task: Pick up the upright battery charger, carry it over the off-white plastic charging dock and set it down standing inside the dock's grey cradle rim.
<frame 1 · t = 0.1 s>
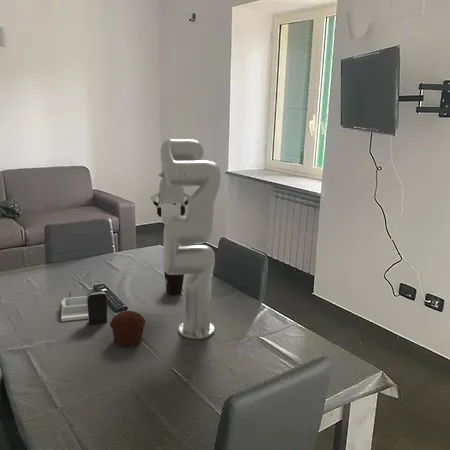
hand: (171, 215, 196), 31 cm above the table, tool pointing down, fingers open, 9 cm apart
dock: (79, 310, 175), on the table
battery charger: (97, 321, 167), on the table
coffee mug: (174, 291, 197), on the table
muffin: (128, 341, 154), on the table
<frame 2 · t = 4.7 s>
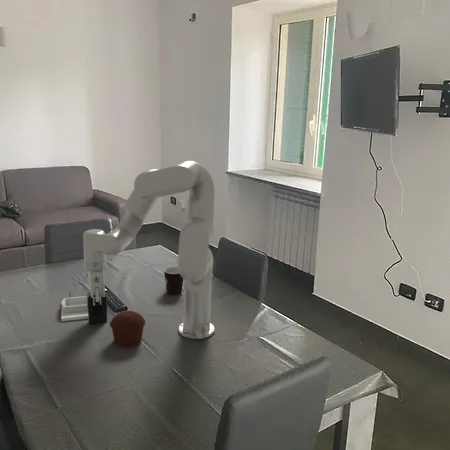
hand: (97, 311, 166), 4 cm above the table, tool pointing down, fingers closed on battery charger, 4 cm apart
battery charger: (97, 321, 167), on the table, touching gripper
everything else where it was.
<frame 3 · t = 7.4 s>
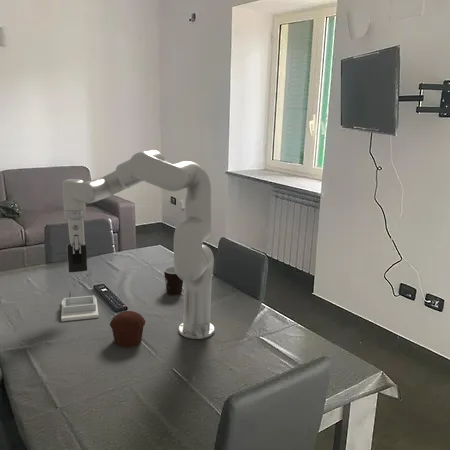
hand: (77, 260, 170), 20 cm above the table, tool pointing down, fingers closed on battery charger, 4 cm apart
battery charger: (77, 271, 171), point 16 cm above the table, touching gripper
everything else where it was.
when the fingers open (6 cm above the table, at t = 10.2 s): battery charger stays where it is, resting on dock.
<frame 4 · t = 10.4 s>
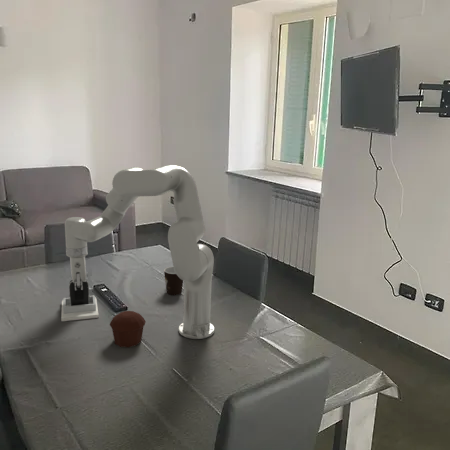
hand: (79, 295, 174), 6 cm above the table, tool pointing down, fingers open, 6 cm apart
battery charger: (80, 307, 175), point 1 cm above the table, touching dock
everything else where it was.
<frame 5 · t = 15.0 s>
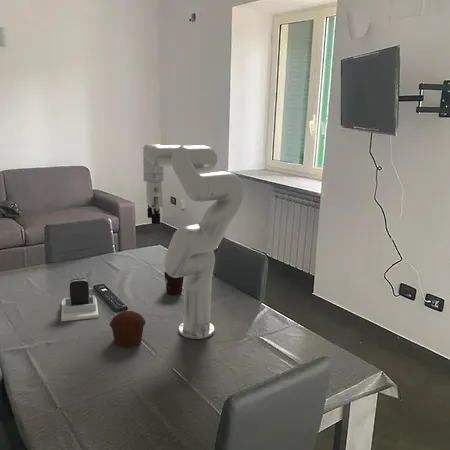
hand: (153, 220, 179), 33 cm above the table, tool pointing down, fingers open, 9 cm apart
nothing on the table moved.
at the end: battery charger inside the target area on the dock (0.1 cm from its centre), point 1.0 cm above the dock's base; battery charger tilted 0°; the gripper is holding nothing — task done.
